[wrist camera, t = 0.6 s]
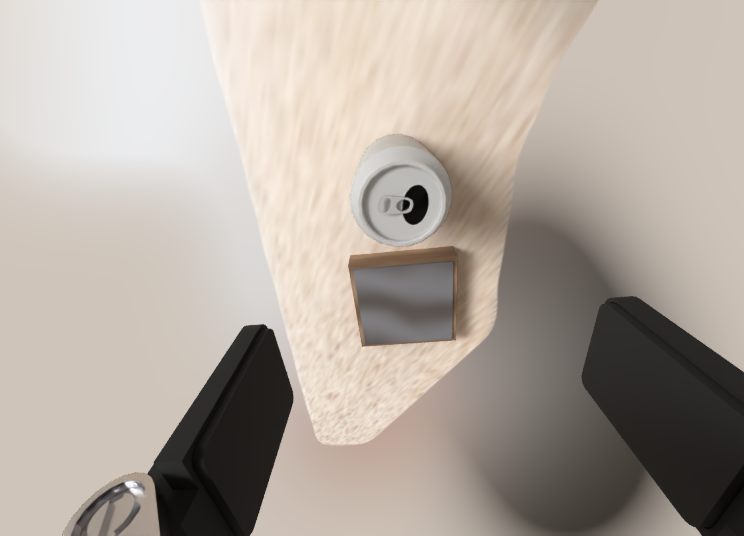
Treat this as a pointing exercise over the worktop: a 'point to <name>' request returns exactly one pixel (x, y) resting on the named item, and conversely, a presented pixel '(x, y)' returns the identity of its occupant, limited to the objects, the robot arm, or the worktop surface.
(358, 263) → the plinth
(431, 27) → the worktop surface
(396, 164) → the can
